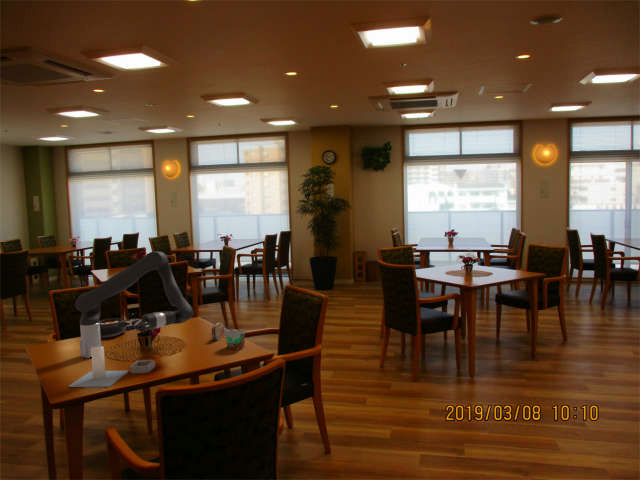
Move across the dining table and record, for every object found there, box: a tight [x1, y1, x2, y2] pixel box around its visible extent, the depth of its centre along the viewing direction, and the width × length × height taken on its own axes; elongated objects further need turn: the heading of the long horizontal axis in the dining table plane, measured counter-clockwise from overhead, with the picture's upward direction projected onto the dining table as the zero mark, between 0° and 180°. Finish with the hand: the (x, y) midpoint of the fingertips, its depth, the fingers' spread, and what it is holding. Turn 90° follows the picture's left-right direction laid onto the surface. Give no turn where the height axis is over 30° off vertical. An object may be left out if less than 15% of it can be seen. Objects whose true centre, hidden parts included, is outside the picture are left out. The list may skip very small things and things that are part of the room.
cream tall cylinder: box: [91, 345, 106, 380], centre depth 224 cm, size 5×5×14 cm
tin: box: [211, 321, 227, 341], centre depth 284 cm, size 15×3×8 cm, turn 168°
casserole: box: [99, 317, 127, 339], centre depth 300 cm, size 25×19×8 cm
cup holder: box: [129, 359, 156, 374], centre depth 235 cm, size 9×9×3 cm
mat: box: [68, 370, 129, 388], centre depth 224 cm, size 18×18×1 cm
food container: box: [224, 327, 246, 350], centre depth 262 cm, size 12×6×10 cm, turn 68°
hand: (121, 327), depth 231 cm, fingers open, 8 cm apart
